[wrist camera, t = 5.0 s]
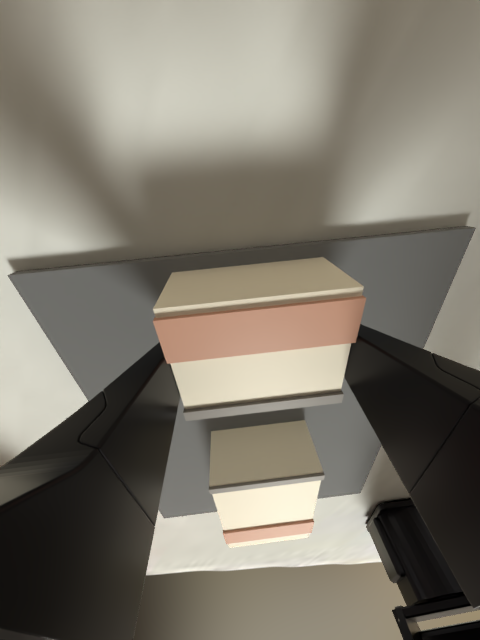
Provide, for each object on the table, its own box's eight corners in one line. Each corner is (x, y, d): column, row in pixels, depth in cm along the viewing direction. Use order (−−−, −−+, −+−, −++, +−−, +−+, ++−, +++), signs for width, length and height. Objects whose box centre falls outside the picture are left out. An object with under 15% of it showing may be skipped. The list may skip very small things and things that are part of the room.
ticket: (305, 420, 15) (325, 473, 12) (297, 491, 20) (309, 540, 17) (210, 431, 14) (208, 488, 12) (227, 500, 20) (228, 550, 17)
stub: (324, 256, 9) (368, 288, 6) (313, 353, 12) (341, 405, 9) (170, 272, 9) (149, 311, 6) (194, 367, 12) (186, 423, 9)
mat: (466, 226, 9) (475, 228, 9) (358, 488, 21) (360, 493, 21) (15, 271, 9) (7, 275, 8) (165, 512, 21) (164, 518, 21)
